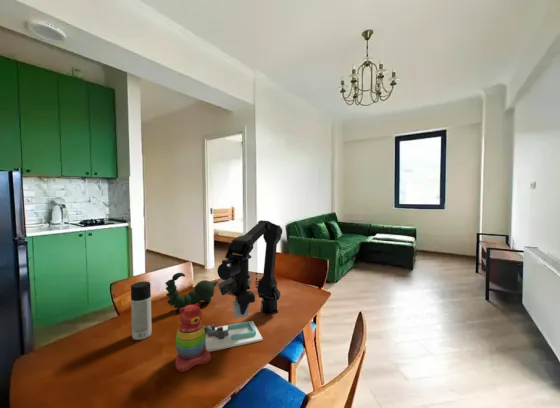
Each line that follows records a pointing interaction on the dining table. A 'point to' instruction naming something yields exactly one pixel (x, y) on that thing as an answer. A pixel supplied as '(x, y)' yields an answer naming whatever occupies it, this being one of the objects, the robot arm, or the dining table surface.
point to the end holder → (242, 335)
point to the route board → (228, 337)
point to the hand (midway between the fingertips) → (241, 312)
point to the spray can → (141, 310)
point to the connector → (237, 310)
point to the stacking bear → (191, 339)
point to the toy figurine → (200, 293)
